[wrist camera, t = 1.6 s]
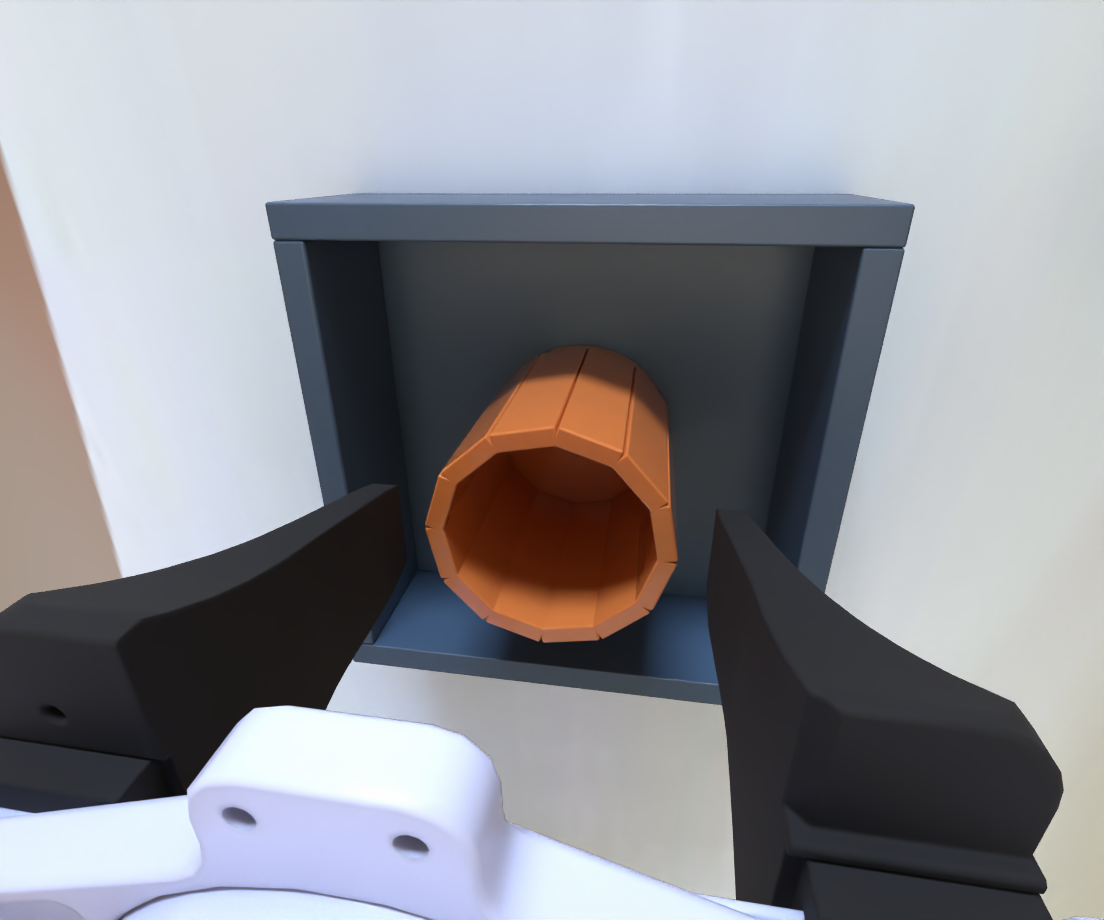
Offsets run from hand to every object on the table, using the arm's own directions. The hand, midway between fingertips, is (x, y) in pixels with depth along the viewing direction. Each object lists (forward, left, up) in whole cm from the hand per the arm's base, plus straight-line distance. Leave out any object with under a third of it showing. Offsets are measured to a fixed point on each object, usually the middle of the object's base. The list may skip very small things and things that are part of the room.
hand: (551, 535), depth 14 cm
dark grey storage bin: (0, 0, -7) cm, 7 cm away
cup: (0, 0, -6) cm, 6 cm away
